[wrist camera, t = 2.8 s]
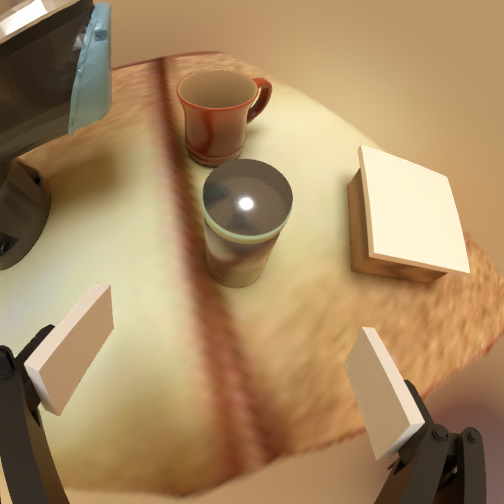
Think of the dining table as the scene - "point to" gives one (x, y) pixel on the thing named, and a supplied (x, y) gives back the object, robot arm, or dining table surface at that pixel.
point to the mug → (219, 112)
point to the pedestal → (403, 220)
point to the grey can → (243, 219)
